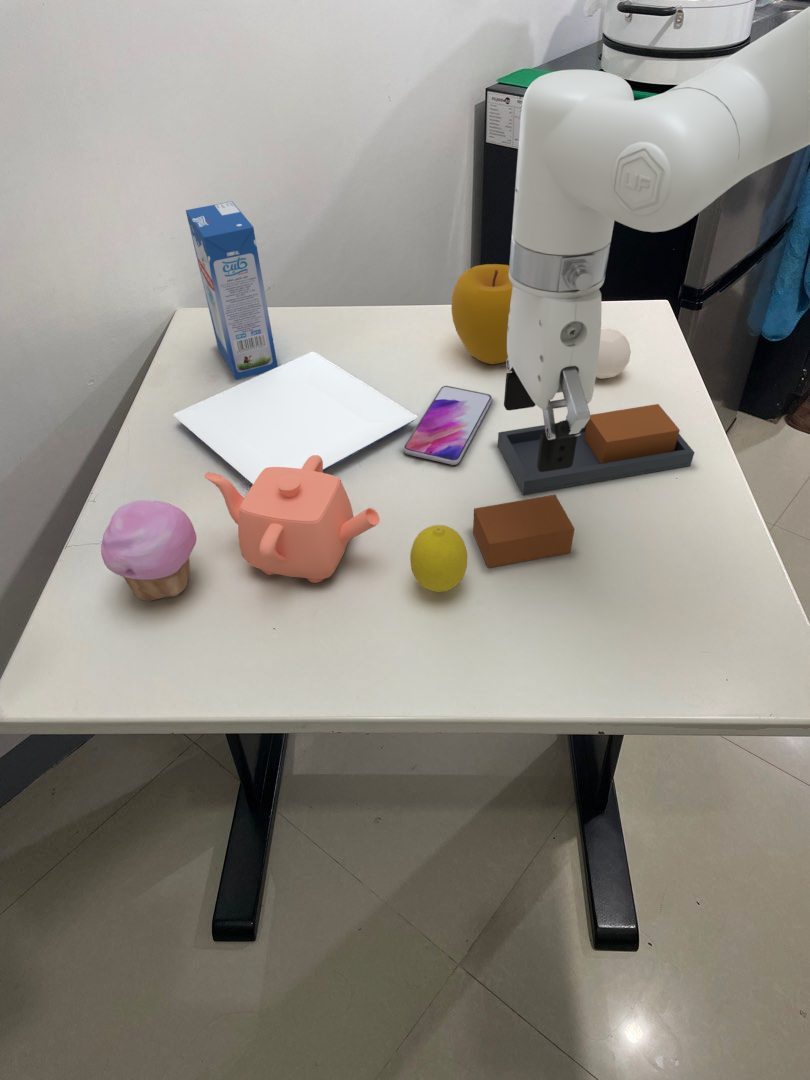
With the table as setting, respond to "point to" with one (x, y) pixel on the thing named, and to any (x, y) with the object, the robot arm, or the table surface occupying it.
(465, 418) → the smartphone
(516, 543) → the brown brick
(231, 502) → the teapot
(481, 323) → the apple
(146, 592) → the cupcake
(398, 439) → the table surface
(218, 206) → the milk carton
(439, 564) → the lemon
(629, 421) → the brown rectangular block
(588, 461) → the frame
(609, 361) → the light bulb
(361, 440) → the plate
